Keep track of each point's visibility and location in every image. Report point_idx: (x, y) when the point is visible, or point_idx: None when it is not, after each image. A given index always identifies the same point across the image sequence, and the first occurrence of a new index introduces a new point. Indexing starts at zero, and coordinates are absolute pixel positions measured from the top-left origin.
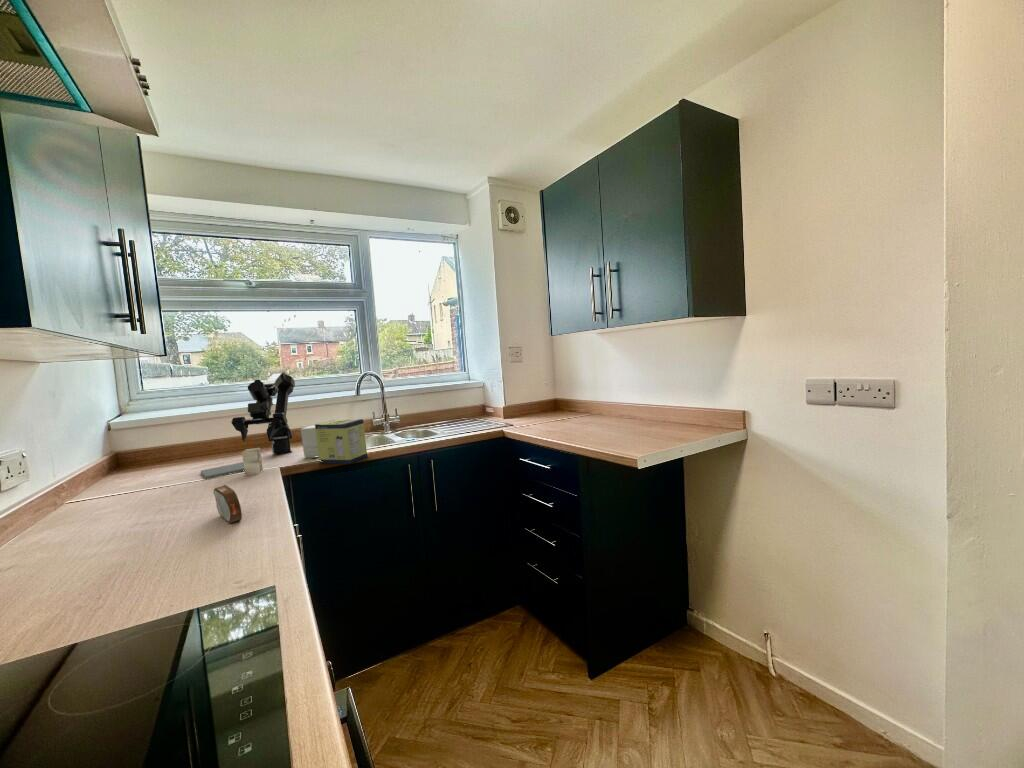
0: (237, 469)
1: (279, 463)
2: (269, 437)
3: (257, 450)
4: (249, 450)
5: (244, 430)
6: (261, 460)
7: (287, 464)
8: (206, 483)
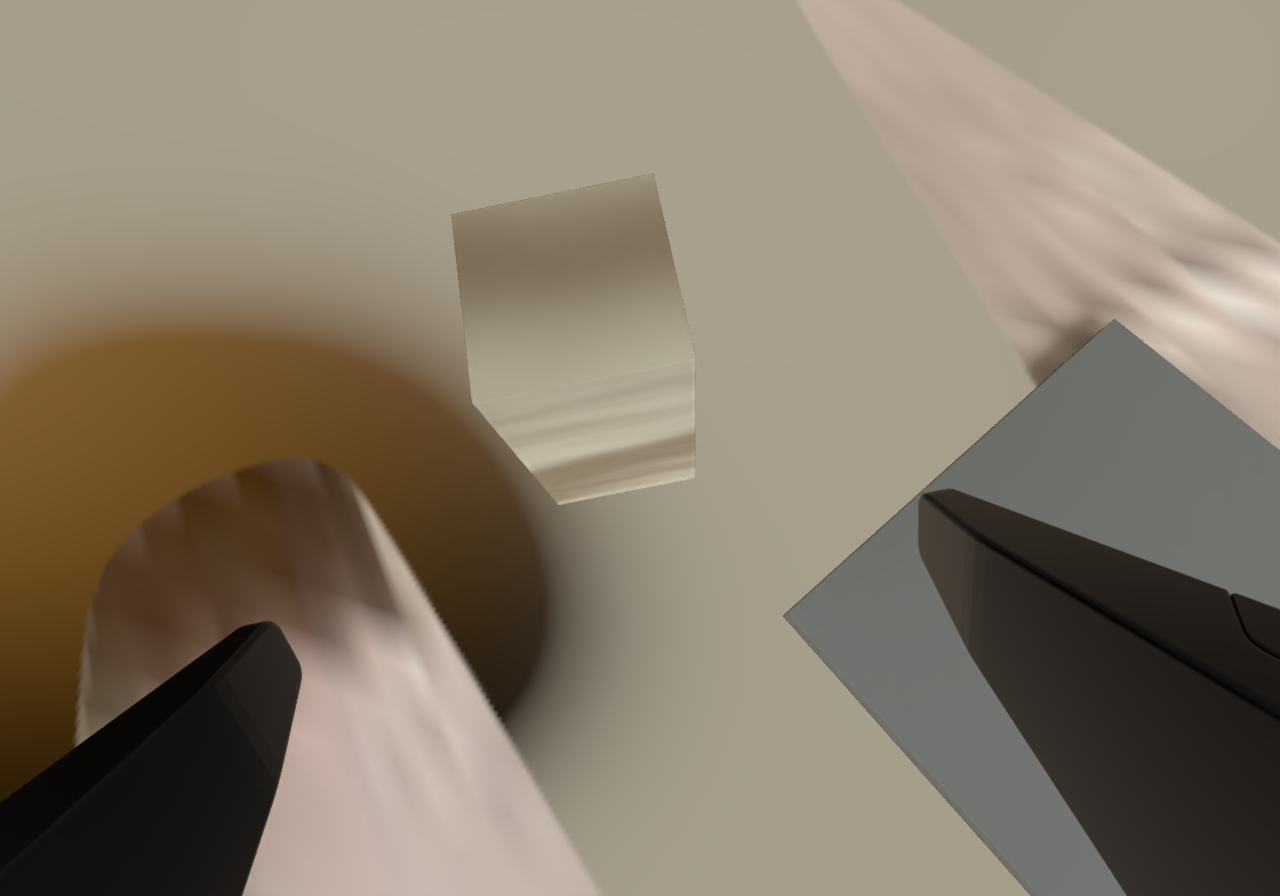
0: (900, 544)
1: (506, 872)
2: (273, 638)
3: (465, 296)
4: (567, 235)
5: (1213, 754)
6: (528, 466)
7: (358, 751)
8: (940, 186)
